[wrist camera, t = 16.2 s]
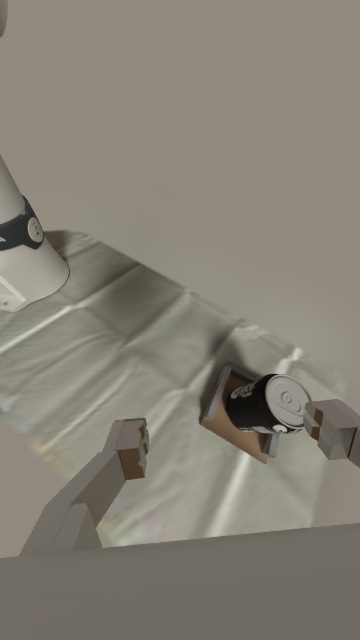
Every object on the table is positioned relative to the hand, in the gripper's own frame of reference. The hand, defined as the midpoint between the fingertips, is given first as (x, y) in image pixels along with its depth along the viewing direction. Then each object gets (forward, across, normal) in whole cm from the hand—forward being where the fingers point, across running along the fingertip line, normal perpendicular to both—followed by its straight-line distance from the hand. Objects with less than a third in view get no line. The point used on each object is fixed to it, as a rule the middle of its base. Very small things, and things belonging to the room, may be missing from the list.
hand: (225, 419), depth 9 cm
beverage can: (+17, -7, +17) cm, 25 cm away
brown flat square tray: (+18, -7, +17) cm, 26 cm away
